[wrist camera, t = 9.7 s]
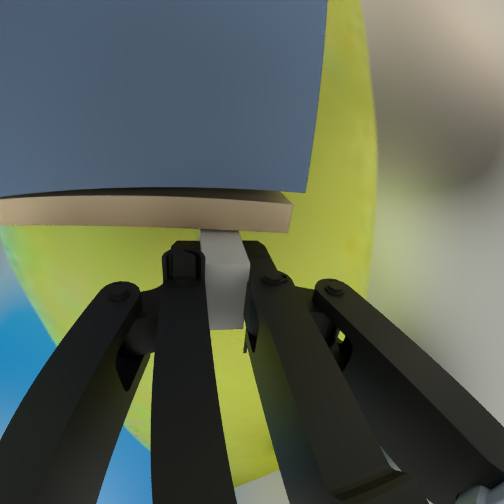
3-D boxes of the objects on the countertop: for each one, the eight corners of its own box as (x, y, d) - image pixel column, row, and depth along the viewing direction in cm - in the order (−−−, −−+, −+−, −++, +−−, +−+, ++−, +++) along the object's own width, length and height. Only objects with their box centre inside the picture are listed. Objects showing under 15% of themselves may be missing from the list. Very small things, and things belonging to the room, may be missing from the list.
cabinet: (88, 17, 12) (7, -42, 1) (260, 13, 15) (329, -72, 4) (74, 151, 18) (-32, 201, 6) (244, 149, 21) (305, 192, 9)
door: (61, 158, 17) (-28, 201, 7) (246, 160, 20) (293, 204, 10) (62, 172, 17) (-24, 225, 8) (244, 176, 21) (287, 233, 11)
